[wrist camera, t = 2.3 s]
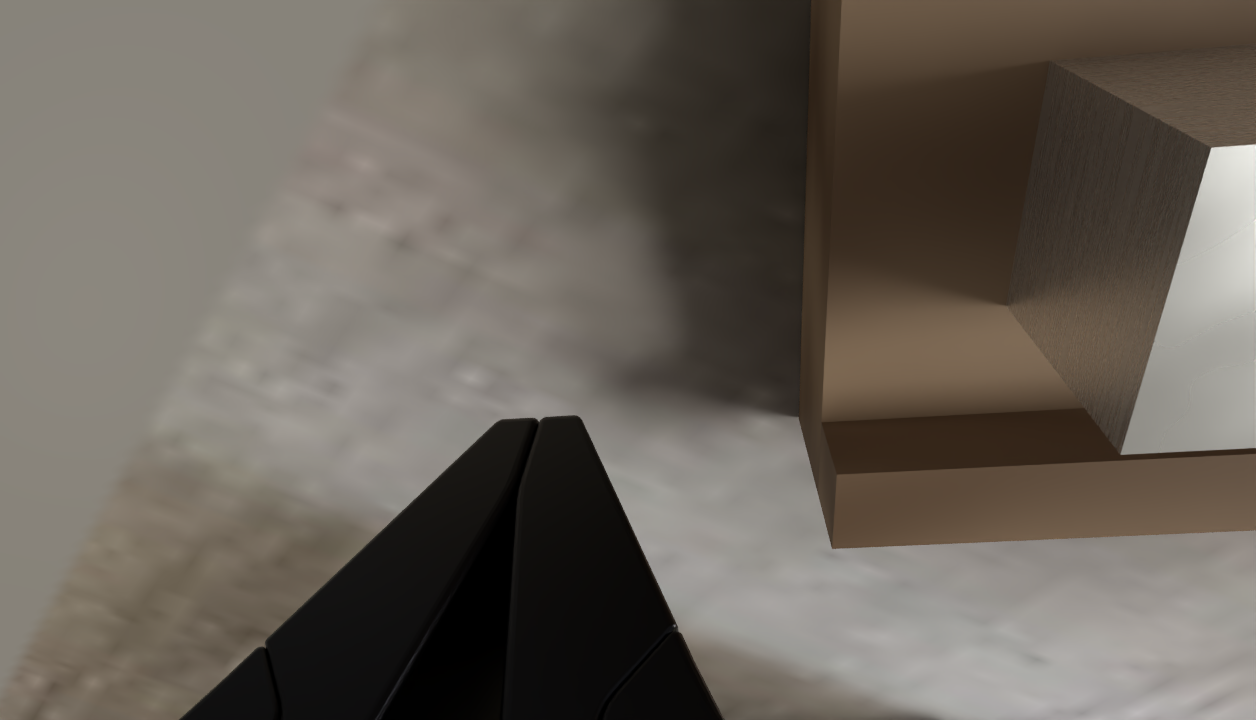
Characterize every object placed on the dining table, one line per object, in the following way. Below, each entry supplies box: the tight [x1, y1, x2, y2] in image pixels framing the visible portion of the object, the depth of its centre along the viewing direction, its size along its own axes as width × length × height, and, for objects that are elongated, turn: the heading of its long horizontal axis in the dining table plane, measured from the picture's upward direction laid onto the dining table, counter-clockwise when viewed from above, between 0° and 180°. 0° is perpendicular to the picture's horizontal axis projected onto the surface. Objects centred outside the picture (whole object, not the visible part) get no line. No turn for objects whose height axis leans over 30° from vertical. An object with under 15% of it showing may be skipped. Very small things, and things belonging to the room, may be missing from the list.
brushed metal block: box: [1006, 44, 1256, 455], centre depth 11 cm, size 4×4×4 cm
